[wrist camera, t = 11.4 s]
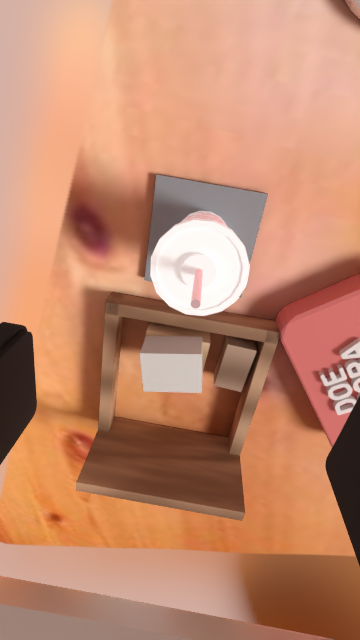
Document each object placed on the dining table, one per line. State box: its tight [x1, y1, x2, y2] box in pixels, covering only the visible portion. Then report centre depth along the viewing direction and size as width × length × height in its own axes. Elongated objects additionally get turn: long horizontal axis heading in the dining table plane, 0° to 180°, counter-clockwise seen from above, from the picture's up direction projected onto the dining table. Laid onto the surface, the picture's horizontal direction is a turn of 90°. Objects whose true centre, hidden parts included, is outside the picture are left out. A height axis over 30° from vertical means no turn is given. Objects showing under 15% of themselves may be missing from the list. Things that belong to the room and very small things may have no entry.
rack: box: [76, 292, 280, 521], centre depth 32 cm, size 17×16×9 cm
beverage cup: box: [150, 211, 250, 316], centre depth 22 cm, size 6×6×14 cm
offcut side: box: [214, 335, 257, 392], centre depth 33 cm, size 5×3×2 cm, turn 168°
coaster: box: [144, 174, 268, 297], centre depth 29 cm, size 9×9×1 cm
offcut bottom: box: [145, 322, 211, 372], centre depth 32 cm, size 4×6×3 cm, turn 79°
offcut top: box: [140, 336, 203, 393], centre depth 30 cm, size 4×5×3 cm
